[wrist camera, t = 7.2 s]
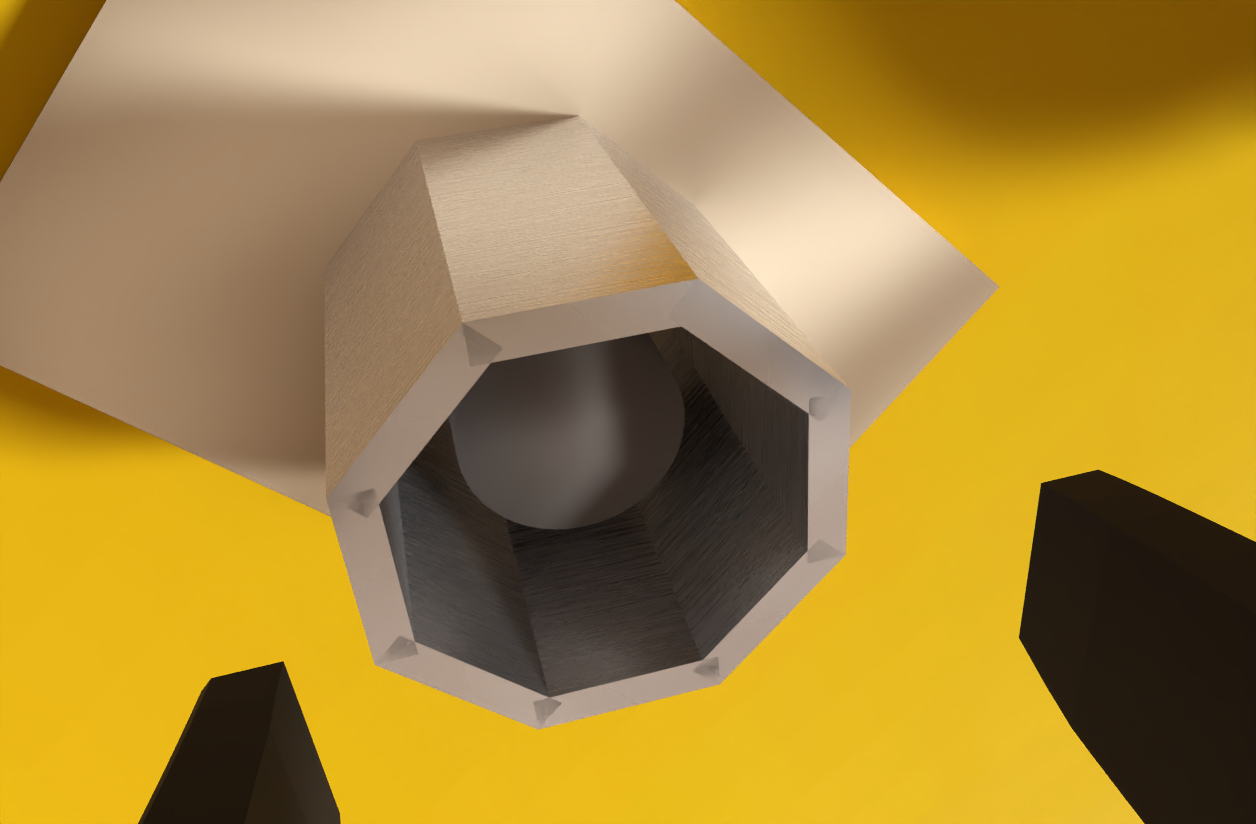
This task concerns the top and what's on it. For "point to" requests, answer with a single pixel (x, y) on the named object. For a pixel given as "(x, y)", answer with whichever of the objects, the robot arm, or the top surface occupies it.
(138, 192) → the board
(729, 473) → the collar
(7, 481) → the top surface
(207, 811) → the robot arm
